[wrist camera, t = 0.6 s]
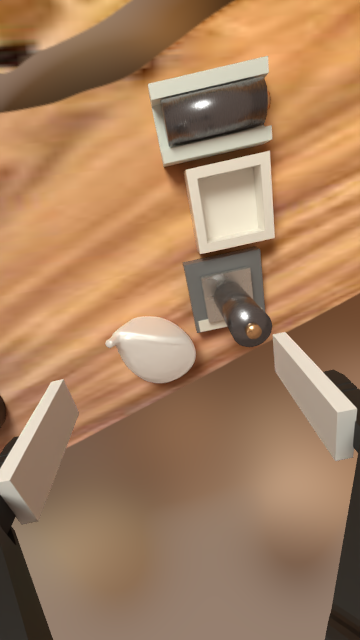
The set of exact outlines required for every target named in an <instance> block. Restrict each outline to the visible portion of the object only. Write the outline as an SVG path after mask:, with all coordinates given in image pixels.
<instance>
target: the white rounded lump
mask: <svg viewBox="0 0 360 640" xmlns="http://www.w3.org/2000/svg"><path fill="white" fill-rule="evenodd" d="M106 346H107V347H109V348H111V347H113V346H116V347H117V349H118V352H119V354H120V356H121V358H122V360H123V361H124V363H125V364H126V366H127V367H128V368H129V369H130V370H131V371H132V372H133V373H135V374H136V375H137V376H138V377H140V378H142V379H144V380H145V381H148V382H152V383H167V382H170V381H173V380H176V379H178V378H180V377H181V376H183V375H184V374H185V373H187V372H188V371H189V370H190V368H191V367H192V366H193V364H194V362H195V359H196V350H195V347H194V344H193V342H192V340H191V339H190V337H189V336H188V335H187V334H186V333H185V332H184V331H183V330H182V329H181V328H180V327H179V326H177V325H176V324H174V323H172V322H171V321H169V320H166V319H163V318H160V317H153V316H142V317H137V318H134V319H132V320H130V321H128V322H127V323H126V324H124V325H123V326H121V327H120V328H119V329H118V330H116V331H115V332H114V333H113V335H112V337H111V338H110V339H108V340H107V341H106Z"/></svg>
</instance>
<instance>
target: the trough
mask: <svg viewBox="0 0 360 640" xmlns="http://www.w3.org/2000/svg"><path fill="white" fill-rule="evenodd" d="M268 73H269V68H268V56H265V57H261V58H257V59H253V60H248V61H244V62H240V63H236V64H231V65H227V66H223V67H218V68H214V69H210V70H206V71H201V72H197V73H193V74H189V75H184V76H180V77H176V78H172V79H167V80H163V81H159V82H154V83H150V84H148V88H149V96H150V101H151V106H152V111H153V116H154V121H155V126H156V131H157V136H158V141H159V146H160V151H161V156H162V161H163V166H164V167H166V166H170V165H175V164H179V163H184V162H188V161H192V160H197V159H201V158H206V157H210V156H214V155H219V154H223V153H228V152H232V151H236V150H241V149H245V148H250V147H254V146H258V145H263V144H264V143H266V142H268V141H270V140H272V125H270V126H266V127H264V124H263V125H262V126H259V127H255V128H250V129H246V130H242V131H237V132H233V133H228V134H224V135H220V136H215V137H211V138H207V139H202V140H198V141H193V142H189V143H185V144H180V145H176V146H172V147H169V146H168V142H167V138H166V133H165V127H164V122H163V116H162V109H161V100H162V99H167V98H171V97H175V96H180V95H184V94H188V93H193V92H197V91H201V90H205V89H210V88H214V87H218V86H223V85H227V84H231V83H235V82H240V81H244V80H248V79H253V78H257V77H263V78H265V76H266V75H267V74H268Z"/></svg>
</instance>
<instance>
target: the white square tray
mask: <svg viewBox="0 0 360 640" xmlns="http://www.w3.org/2000/svg"><path fill="white" fill-rule="evenodd" d="M183 173H184V179H185V184H186V190H187V196H188V201H189V207H190V213H191V219H192V224H193V230H194V236H195V241H196V247H197V251H198V252H199V253H200V254H203V253H208V252H213V251H217V250H222V249H226V248H231V247H235V246H240V245H245V244H249V243H254V242H258V241H263V240H267V239H272V238H275V233H274V216H273V198H272V180H271V163H270V151H266V152H262V153H258V154H253V155H249V156H244V157H240V158H235V159H231V160H227V161H222V162H218V163H213V164H209V165H204V166H200V167H196V168H191V169H187V170H185V171H184V172H183Z"/></svg>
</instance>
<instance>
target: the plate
mask: <svg viewBox="0 0 360 640" xmlns="http://www.w3.org/2000/svg"><path fill="white" fill-rule="evenodd" d="M200 278H201V283H202V289H203V295H204V300H205V306H206V312H207V317H208V321H209V323H210V322H214V321H219V320H224V319H223V317H222V315H221V313H220V311H219V309H218V307H217V306H216V304H215V301H214V293H215V291H216V289H217V288H218V287H219V286H220V285H221V284H223V283H225V282H235V283H237V284H239V285H240V286H241V287H242V288H243V289H244V290H245V291H246V292H247V294H248V295H249V296H250V297H251V298H252V299H253V291H252V281H251V270H250V267H248V266H247V267H242V268H238V269H233V270H229V271H224V272H219V273H215V274H210V275H206V276H201V277H200Z"/></svg>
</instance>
